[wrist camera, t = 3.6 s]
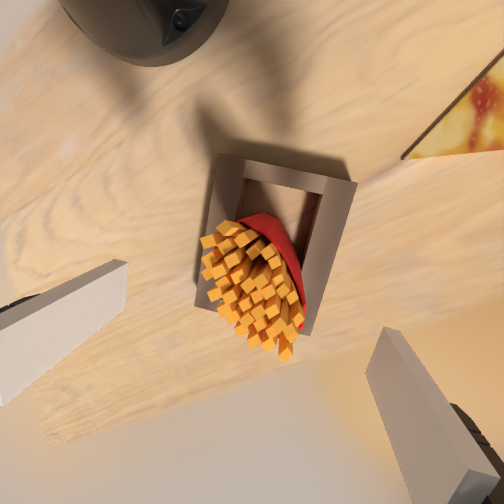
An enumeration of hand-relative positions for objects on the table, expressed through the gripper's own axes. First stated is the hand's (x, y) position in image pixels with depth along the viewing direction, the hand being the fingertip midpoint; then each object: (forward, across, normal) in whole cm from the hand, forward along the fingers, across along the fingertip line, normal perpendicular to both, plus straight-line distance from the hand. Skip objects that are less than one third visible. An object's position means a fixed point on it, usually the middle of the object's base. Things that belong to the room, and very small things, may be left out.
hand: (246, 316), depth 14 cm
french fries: (+15, 0, 0) cm, 15 cm away
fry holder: (+14, 0, 0) cm, 14 cm away
